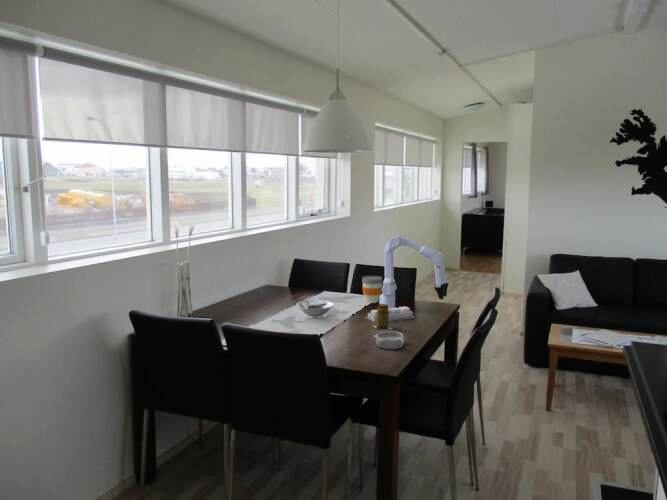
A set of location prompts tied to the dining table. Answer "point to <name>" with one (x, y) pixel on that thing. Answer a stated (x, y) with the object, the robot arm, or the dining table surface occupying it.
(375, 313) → the sage key
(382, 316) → the condiment
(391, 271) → the robot arm
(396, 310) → the bluegrey key
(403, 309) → the ivory key
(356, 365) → the dining table surface
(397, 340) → the dish
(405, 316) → the keypad
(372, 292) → the reusable coffee cup
